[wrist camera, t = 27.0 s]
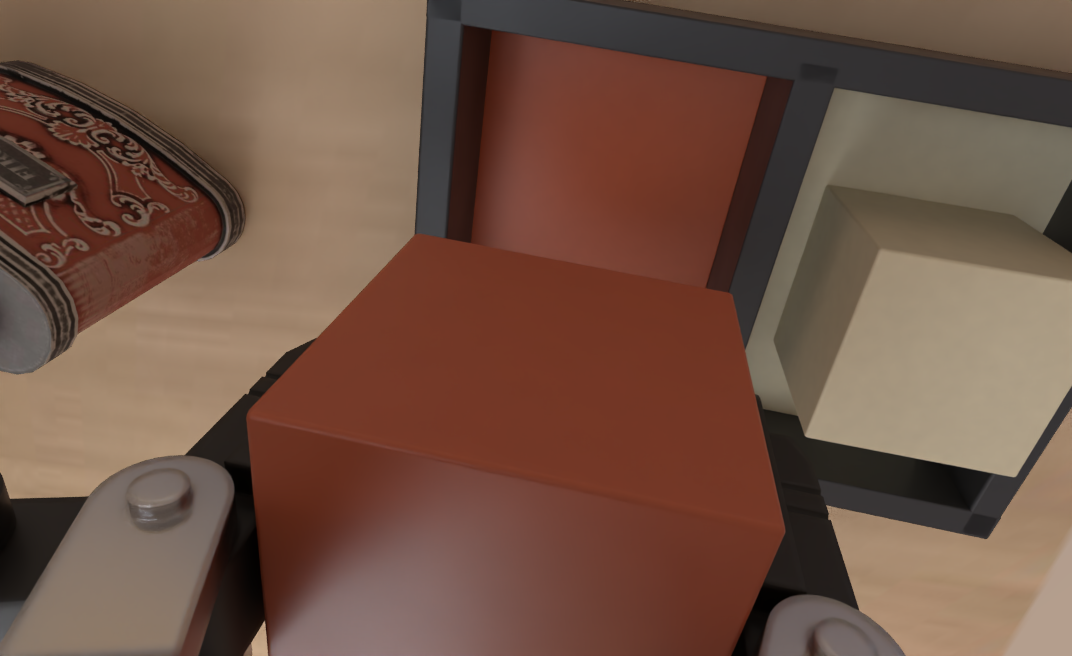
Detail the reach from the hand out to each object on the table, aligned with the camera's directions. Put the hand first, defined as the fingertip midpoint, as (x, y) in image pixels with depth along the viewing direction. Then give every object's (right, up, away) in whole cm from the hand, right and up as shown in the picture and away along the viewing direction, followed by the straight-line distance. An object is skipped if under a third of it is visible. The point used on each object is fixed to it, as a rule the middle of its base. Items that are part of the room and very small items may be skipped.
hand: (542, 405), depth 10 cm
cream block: (+9, +2, +7) cm, 12 cm away
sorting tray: (+5, +4, +8) cm, 10 cm away
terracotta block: (0, 0, 0) cm, 0 cm away
